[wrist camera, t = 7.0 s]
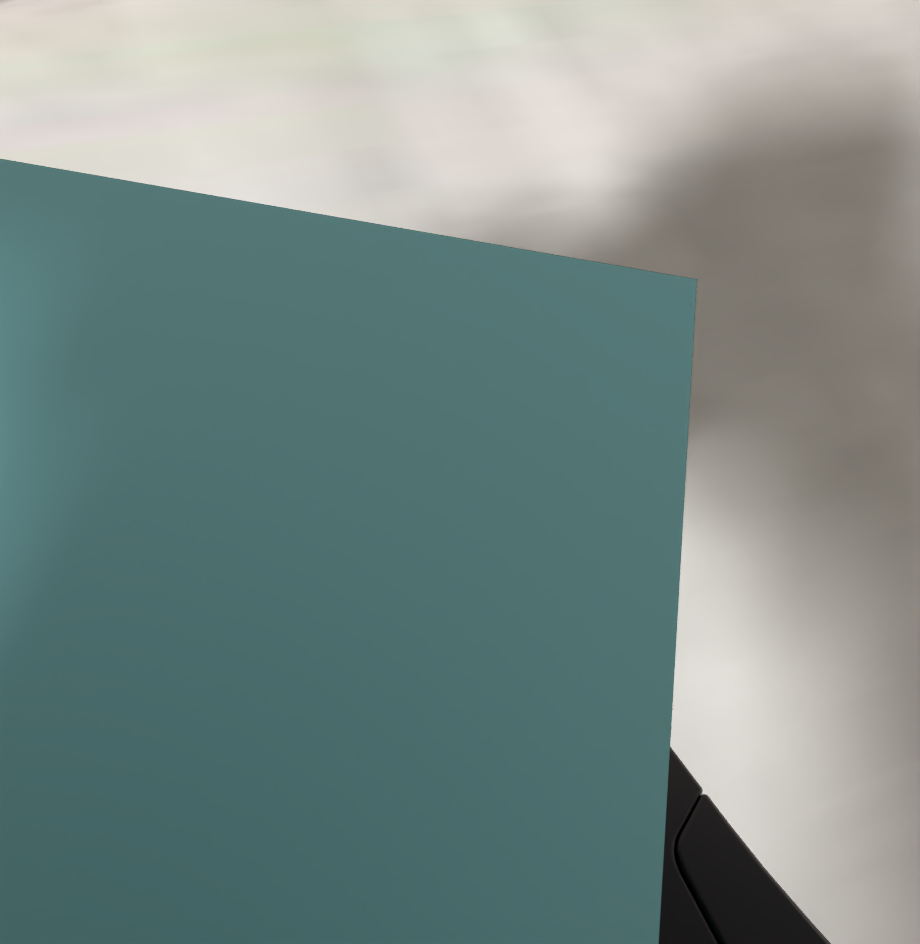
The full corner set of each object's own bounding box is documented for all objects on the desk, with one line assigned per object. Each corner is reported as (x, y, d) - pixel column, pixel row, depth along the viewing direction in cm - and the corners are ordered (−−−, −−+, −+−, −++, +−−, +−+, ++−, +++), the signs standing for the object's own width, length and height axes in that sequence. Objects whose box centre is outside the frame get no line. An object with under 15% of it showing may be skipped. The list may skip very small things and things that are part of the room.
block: (447, 840, 14) (614, 1726, 2) (207, 799, 14) (-1080, 1437, 2) (484, 598, 15) (697, 280, 4) (268, 560, 15) (-243, 116, 4)
